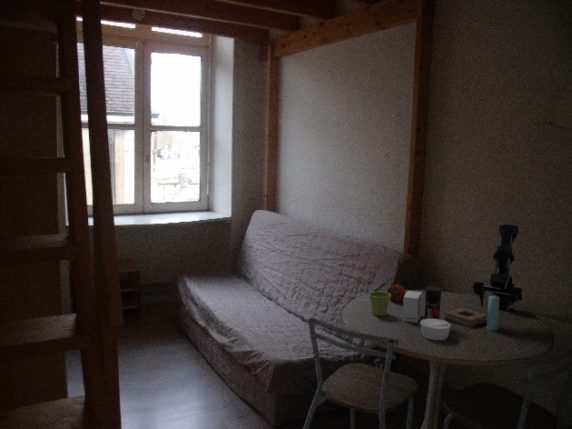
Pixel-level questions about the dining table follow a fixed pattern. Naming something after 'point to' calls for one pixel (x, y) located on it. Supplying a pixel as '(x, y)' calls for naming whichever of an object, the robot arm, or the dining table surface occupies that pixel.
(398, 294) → the dragon fruit
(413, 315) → the skincare box
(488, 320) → the peg
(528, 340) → the dining table surface
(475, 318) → the socket block
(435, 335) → the ramekin
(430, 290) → the deodorant
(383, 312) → the plant pot
